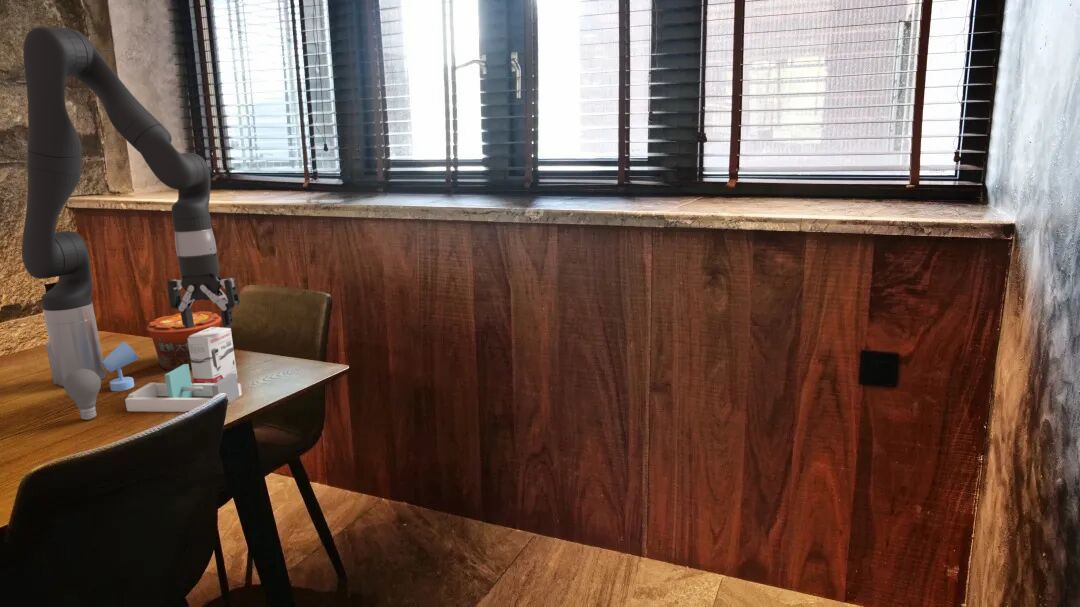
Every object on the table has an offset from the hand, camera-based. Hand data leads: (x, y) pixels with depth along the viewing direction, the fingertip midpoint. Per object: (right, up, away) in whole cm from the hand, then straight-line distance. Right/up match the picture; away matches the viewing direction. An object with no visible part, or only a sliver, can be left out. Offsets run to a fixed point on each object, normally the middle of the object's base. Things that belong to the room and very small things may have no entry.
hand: (208, 327), depth 155 cm
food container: (-13, -9, +19) cm, 25 cm away
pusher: (0, -15, -8) cm, 17 cm away
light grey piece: (-1, -15, -7) cm, 17 cm away
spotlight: (-20, -13, +4) cm, 24 cm away
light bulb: (-17, -17, -14) cm, 28 cm away
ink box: (0, -13, +3) cm, 13 cm away
